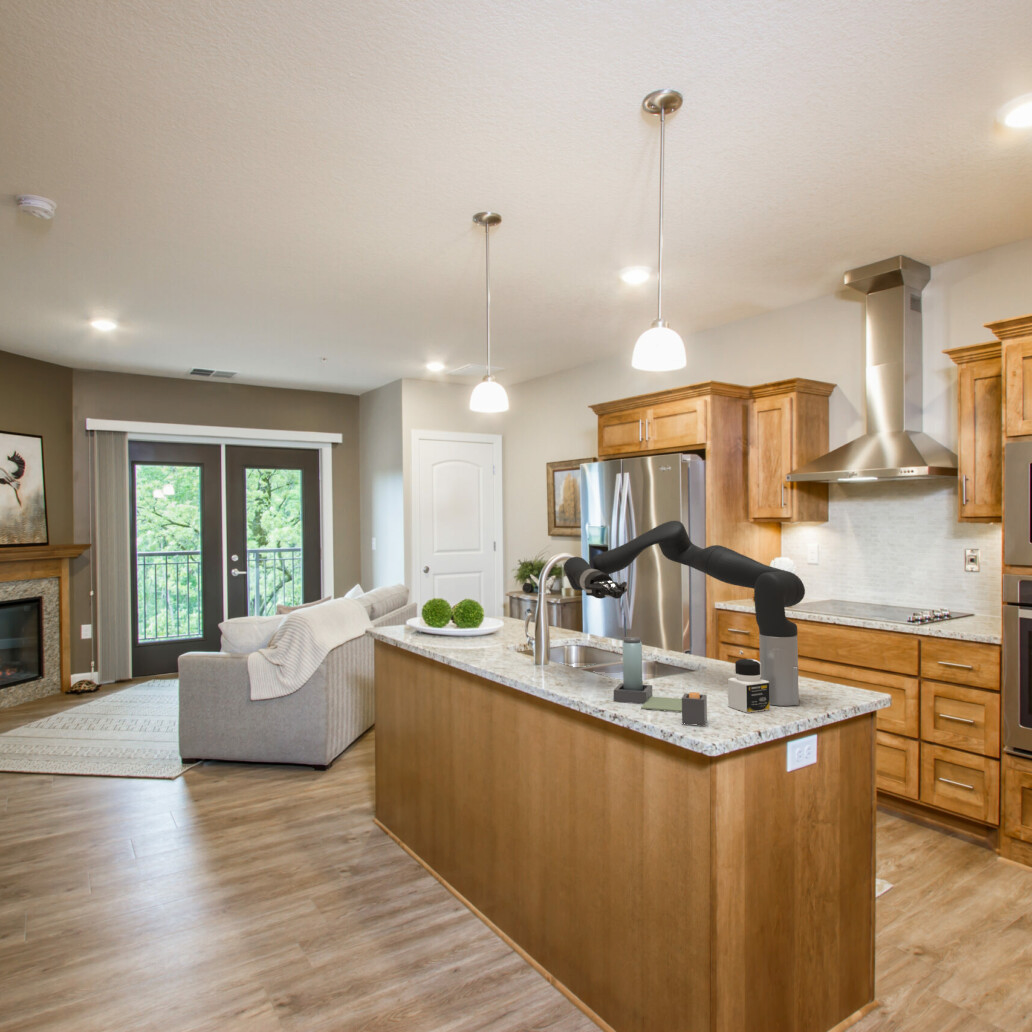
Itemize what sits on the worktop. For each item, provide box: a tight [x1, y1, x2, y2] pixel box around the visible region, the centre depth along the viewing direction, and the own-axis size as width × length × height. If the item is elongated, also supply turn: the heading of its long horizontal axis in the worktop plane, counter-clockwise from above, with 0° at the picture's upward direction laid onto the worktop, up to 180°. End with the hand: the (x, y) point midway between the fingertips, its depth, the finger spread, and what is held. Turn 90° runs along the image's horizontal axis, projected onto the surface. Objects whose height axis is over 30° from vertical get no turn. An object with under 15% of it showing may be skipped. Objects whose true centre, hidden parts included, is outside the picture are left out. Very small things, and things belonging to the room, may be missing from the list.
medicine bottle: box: [727, 658, 771, 714], centre depth 181 cm, size 7×7×12 cm
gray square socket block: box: [681, 693, 708, 726], centre depth 169 cm, size 5×5×6 cm
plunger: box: [688, 691, 700, 699], centre depth 169 cm, size 2×2×6 cm
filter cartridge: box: [622, 636, 644, 691], centre depth 192 cm, size 5×5×16 cm
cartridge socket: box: [613, 682, 653, 704], centre depth 192 cm, size 8×8×3 cm
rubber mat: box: [640, 696, 682, 713], centre depth 185 cm, size 12×12×1 cm
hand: (618, 594), depth 198 cm, fingers closed
